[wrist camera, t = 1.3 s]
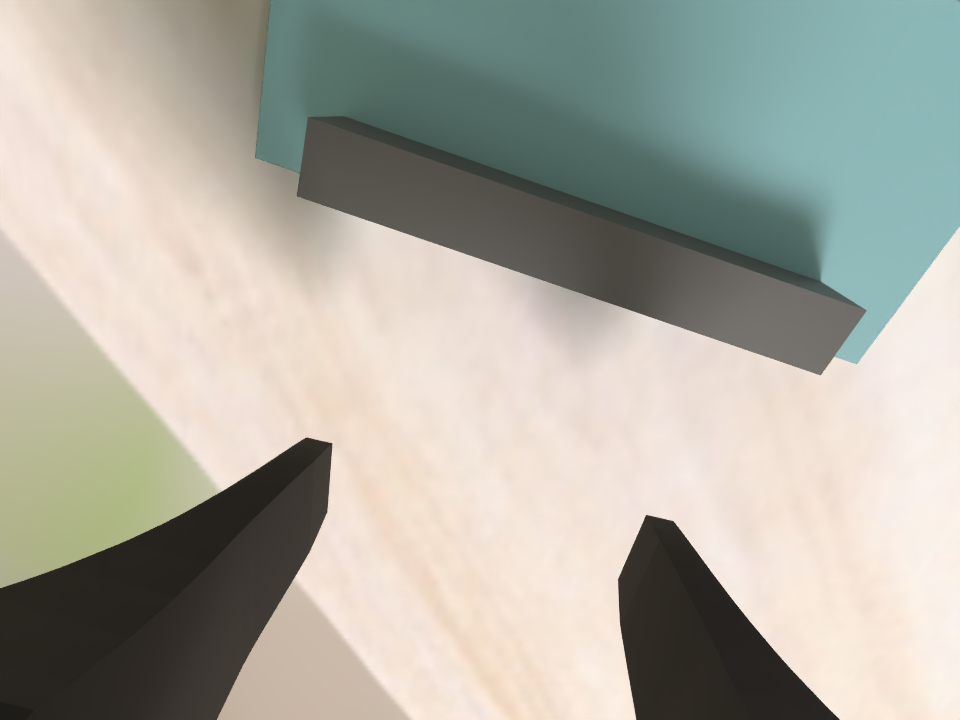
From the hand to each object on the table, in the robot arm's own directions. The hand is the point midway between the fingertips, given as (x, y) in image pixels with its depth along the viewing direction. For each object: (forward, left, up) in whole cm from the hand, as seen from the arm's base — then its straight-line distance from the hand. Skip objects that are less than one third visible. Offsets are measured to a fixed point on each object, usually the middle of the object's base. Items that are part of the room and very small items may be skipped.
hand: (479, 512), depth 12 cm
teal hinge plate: (0, -10, -5) cm, 11 cm away
